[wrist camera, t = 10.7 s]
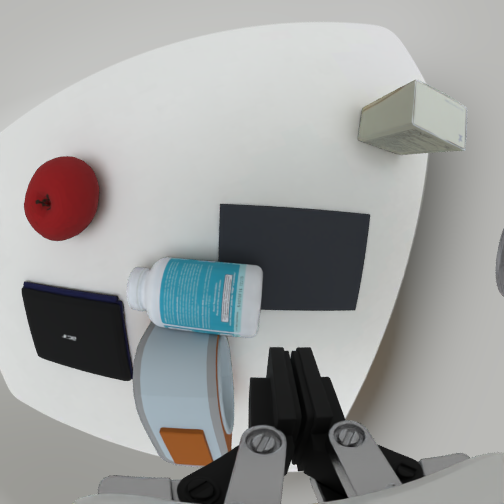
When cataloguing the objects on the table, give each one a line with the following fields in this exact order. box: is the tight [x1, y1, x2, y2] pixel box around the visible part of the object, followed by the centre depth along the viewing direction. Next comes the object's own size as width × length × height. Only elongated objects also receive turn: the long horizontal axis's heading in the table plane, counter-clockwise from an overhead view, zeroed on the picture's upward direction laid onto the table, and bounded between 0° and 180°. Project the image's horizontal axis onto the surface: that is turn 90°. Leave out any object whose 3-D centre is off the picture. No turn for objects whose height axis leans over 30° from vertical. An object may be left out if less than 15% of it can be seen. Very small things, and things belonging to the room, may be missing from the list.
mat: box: [219, 204, 370, 311], centre depth 31 cm, size 17×12×1 cm
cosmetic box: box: [358, 80, 467, 155], centre depth 22 cm, size 6×4×12 cm
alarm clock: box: [133, 321, 234, 467], centre depth 28 cm, size 15×8×14 cm, turn 4°
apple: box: [24, 156, 99, 241], centre depth 24 cm, size 9×9×10 cm
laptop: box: [22, 282, 133, 381], centre depth 32 cm, size 16×20×2 cm
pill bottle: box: [127, 257, 263, 338], centre depth 28 cm, size 8×7×14 cm
